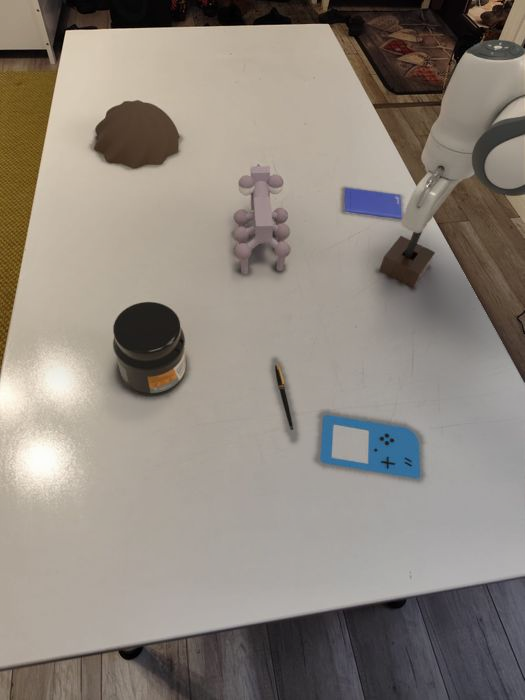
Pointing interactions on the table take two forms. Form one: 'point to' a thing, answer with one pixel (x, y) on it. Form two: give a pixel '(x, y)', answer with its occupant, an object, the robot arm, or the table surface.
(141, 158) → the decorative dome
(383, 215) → the hard drive
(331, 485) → the table surface
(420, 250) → the holder
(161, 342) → the supplement container
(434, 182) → the robot arm
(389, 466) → the handheld gaming device
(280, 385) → the fountain pen
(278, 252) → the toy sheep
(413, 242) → the stylus
